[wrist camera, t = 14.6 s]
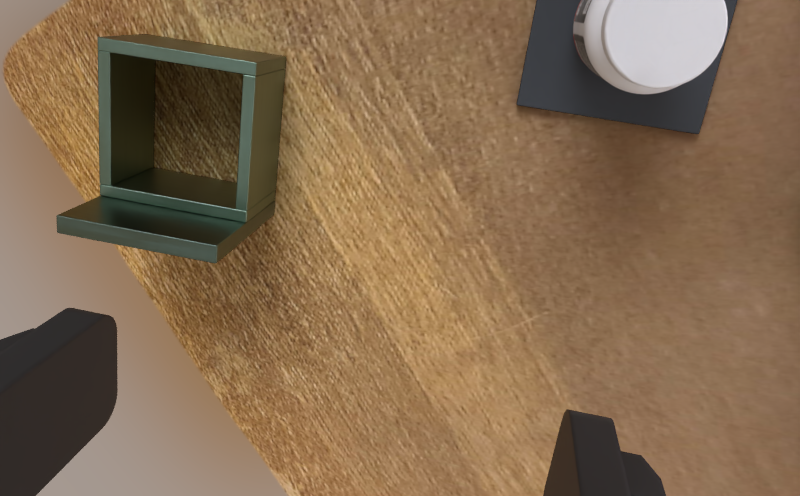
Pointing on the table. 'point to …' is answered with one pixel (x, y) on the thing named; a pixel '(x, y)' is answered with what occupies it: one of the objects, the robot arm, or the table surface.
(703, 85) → the coaster
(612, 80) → the pill bottle
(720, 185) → the table surface
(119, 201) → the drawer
